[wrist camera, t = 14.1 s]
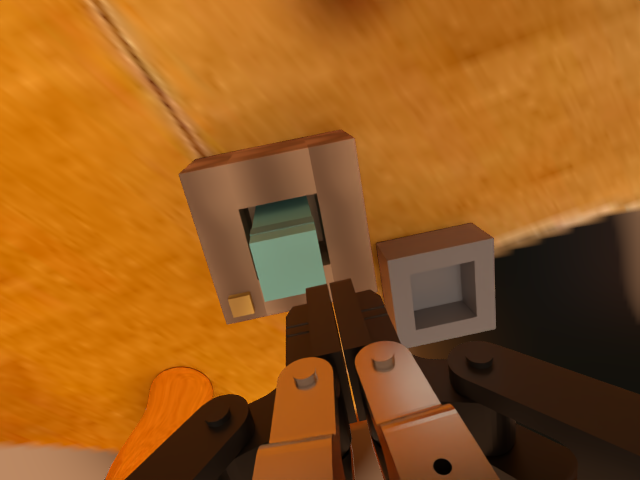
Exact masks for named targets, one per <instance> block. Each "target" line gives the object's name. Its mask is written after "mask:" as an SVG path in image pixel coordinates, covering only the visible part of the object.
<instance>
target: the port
mask: <svg viewBox="0 0 640 480" xmlns="http://www.w3.org/2000/svg"><path fill="white" fill-rule="evenodd" d="M179 177H180V180H181V183H182V186H183V189H184V193H185V196H186V199H187V202H188V205H189V208H190V211H191V214H192V217H193V221H194V224H195V227H196V230H197V233H198V236H199V239H200V242H201V245H202V248H203V252H204V255H205V258H206V261H207V264H208V267H209V270H210V273H211V276H212V280H213V283H214V286H215V289H216V292H217V295H218V298H219V301H220V304H221V308H222V311H223V314H224V317H225V320H226V323H227V324H232V323H236V322H241V321H246V320H250V319H255V318H260V317H264V316H269V315H274V314H278V313H283V312H288V311H290V310H291V308H292V307H293V306H298V305H302V304H307V301H306V293H304V294H300V295H295V296H290V297H285V298H281V299H276V300H271V301H267V302H265V301H264V297H263V293H262V290H261V286H260V282H259V278H258V275H257V271H256V267H255V264H254V260H253V256H252V253H251V249H250V245H249V242H250V230H251V229H252V225H253V219H254V214H255V208H256V206H258V205H263V204H267V203H272V202H277V201H282V200H287V199H292V198H296V197H301V196H307V200H308V204H309V207H310V211H311V215H312V216H313V219H314V223H315V228H316V233H317V238H318V243H319V248H320V253H321V258H322V263H323V268H324V273H325V278H326V284H327V285H328V289H329V294H330V298H331V302H333V299H332V295H331V290H330V285H329V283H331V282H336V281H340V280H345V279H349V278H351V280H352V283H353V287H354V290H355V293H356V292H360V291H365V290H369V289H370V290H372V291H373V292H375V293H376V292H377V285H376V278H375V272H374V265H373V258H372V251H371V245H370V238H369V231H368V225H367V218H366V211H365V205H364V198H363V191H362V185H361V178H360V171H359V165H358V158H357V151H356V144H355V138H353V137H352V136H350V135H349V134H347V133H346V132H344V131H343V130H337V131H332V132H327V133H322V134H317V135H312V136H307V137H302V138H297V139H293V140H288V141H283V142H278V143H273V144H268V145H263V146H258V147H253V148H248V149H243V150H239V151H234V152H229V153H224V154H219V155H214V156H209V157H204V158H199V159H195V160H194V161H193V162H192V163H191V164H190V165H189V166H187V167H186V168H185V169H184V170H183V171H182V172H181V173H179Z"/></svg>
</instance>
